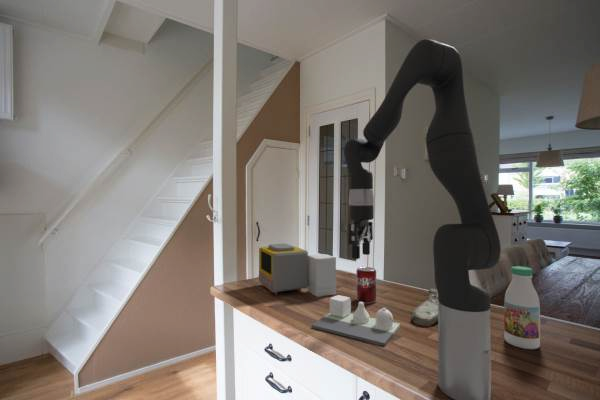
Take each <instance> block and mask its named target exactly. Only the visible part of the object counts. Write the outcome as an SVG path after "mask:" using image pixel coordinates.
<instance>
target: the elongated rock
mask: <svg viewBox="0 0 600 400" xmlns="http://www.w3.org/2000/svg"><path fill="white" fill-rule="evenodd" d="M427 294H428V296H427V297H426V299H425V301H423V302H421V303H420V304H419V305H418V306H416V307H415V309H413V311H412V314H411V316H410V317H411V318H410V319H411V320H412V322H413V323H414V324H416V325H418V326H421V327H430V326H432V325H434V324H436V323H438V292H437V288H436V289H435V288H429V289H428V291H427Z"/></svg>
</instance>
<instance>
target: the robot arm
mask: <svg viewBox="0 0 600 400" xmlns="http://www.w3.org/2000/svg"><path fill="white" fill-rule="evenodd" d="M462 63H463V62H462V58H461V55H460V52H459V51H458V50H457V49H456V48H455V47H454V46H451V45H449V44H447V43H443V42H440V41H437V40H434V39H429V38H424V39H422V40H419V41H418V42H416V43H415V44H414V46H413V47H412V48H411V49H410V51H409V52H408V54H407V55H406V57H405V58H404V60H403V62H402V64H401V66H400V68H399V70H398V72H397V73H396V75H395V77H394V79H393V81H392V82H391V85H390V87H389V89H388V91H387V93H386V94H385V97H384V99H383V101H382V102H381V104H380V106H379V108H378V109H377V110H376V111H375V112H374V114H373V116H372V117H371V118H370V119H369V121H368V122H367V123H366V125H365V126H364V128H363V130H362V131H363V137H364V138H365V139H360V138H350V139H349V140H348V141H346V143H345V145H344V147H343V148H344V149H343V156H344V160H345V164H346V167H347V173H348V176H349V192H348V194H349V195H348V219H349V220H353V223H352V224H351V223H349V224H348V239H347V240H348V242H347V243H348V245H350V246H351V258H352V259H354V260H359V259H360V258H361V249H362V255H366V256H369V255H370V254H371V250H370V249H371V244H370V243H371V242H372V241H373V238H374V235H373V233H374V232H373V226H374V225H373V222H372V220H374V218H375V217H374V215H375V212H374V211H375V210H374V209H375V208H374V207H375V205H374V202H375V201H374V198H375V197H374V196H375V195H374V190H373V189H374V184H373V183H374V182H373V181H374V179H373V178H374V175H373V172H372V171H370V170H368V169H365V168H364V167H363V164H362V163H367V164H369V163H372V162H374V161H375V160H377V159H378V156H379V155H380V153H381V151H382V148H383V146H384V144H385V141H386V140H387V139H388V137H389V136H391V135H392V133H393V132H394V131H395V129H396V128H397V127H398V125H399V123H400V122H401V118H402V115H403V109H404V108H403V107H404V103H405V100H406V97H407V95H408V94H409V92H410V91H411V90H412V89H413V88H414V87H415V86H417V84H420V85H424V86H428V87H430V88H431V90H432V93H433V96H434V103H435V111H434V114H433V116H432V117H433V118H432V119H431V122H430V123H429V127H428V129H427V132H426V136H425V145H426V151H427V157H428V163H429V166H430V169H431V172H433V175H434V176H435V177H436V179H437V181H439V182H440V184H441V186H443V188H444V189H445V190H446V191H447V193H449V195H450V196H451V198H452V199H453V201H454V203H455V205H456V208H457V211H458V214H459V218H460V223H447V224H442V225H441V226H439V227H438V229H436V231H435V234H434V236H433V237H434V238H433V243H432V246H433V247H432V249H433V265H434V266H433V268H434V269H433V270H434V284H435V288H436V289H437V292H438V322H437V325H438V326H437V327H438V328H437V329H438V330H437V332H438V333H437V334H438V335H437V346H438V349H437V352H438V353H437V356H438V357H437V358H438V359H437V363H438V364H437V365H438V368H437V370H438V371H437V377H438V378H437V380H438V384H437V385H438V387H439V389H440V391H441V392H442V393H443V394H445V395H446V396H447V397H449V398H451V399H453V400H491V395H492V394H491V393H492V392H491V391H492V390H491V389H492V387H491V385H492V379H491V378H492V375H491V374H492V360H491V359H492V343H491V296H490V293H489V292H488V291H487V290H485V289H483V288H482V287H478V286H476V285H473V284H471V280H470V275H469V274H470V273H469V271H477V270H488V269H492V268H493V267H495V266H496V265H497V264H498V263H499V260H500V258H501V253H502V252H501V251H502V250H501V249H502V247H501V240H500V237H499V232H498V230H497V227H496V223H495V220H494V218H493V217H494V216H493V214H492V212H491V208H490V206H489V201H488V199H487V195H486V192H485V189H484V184H483V180H482V175H481V172H480V167H479V162H478V156H477V151H476V144H475V140H474V136H473V132H472V129H471V128H472V127H471V124H470V118H469V113H468V107H467V103H466V95H465V87H464V74H463V64H462ZM361 242H362V243H361ZM361 244H362V248H361V246H360V245H361Z"/></svg>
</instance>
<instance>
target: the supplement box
mask: <svg viewBox="0 0 600 400" xmlns="http://www.w3.org/2000/svg"><path fill="white" fill-rule="evenodd" d="M307 291H308V292H309V293H310V294H312V295H313V296H315V297H317V298H318V297H324V296H333V295H335V296H336V294H337V258H336V257H335V256H332V255H330V254H327V253H322V254H321V253H320V254H308V287H307Z"/></svg>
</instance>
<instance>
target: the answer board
mask: <svg viewBox="0 0 600 400" xmlns="http://www.w3.org/2000/svg"><path fill="white" fill-rule="evenodd" d="M353 314H354V313H351V312H350V314H348V315H347V316H345V317H339V316H335V315H332V314H330V312H328V313H327V314H326V315H324V316H323V317H321V318H319V320H317V321H315V322H314V323H312V324H311V329H315V330H318V331H319V330H320V331H324V332H327V333H332V334H335V335H339V336H342V337H347V338H351V339H354V340H358V341H363V342H366V343H370V344H375V345H379V346H382V347H386V345H387V344H388V343H389V341H390V340H391V339H392V338H393V337H394V335H395V334H396V333H397V332H398V330H399V329H400V328H401V323H399V322H394V321H393V325H394V327H393V329H391V330H382V329H378V328H377V327H375V323H376V317H370V316H369V322H368V323H357V322H354V321H353Z"/></svg>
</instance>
